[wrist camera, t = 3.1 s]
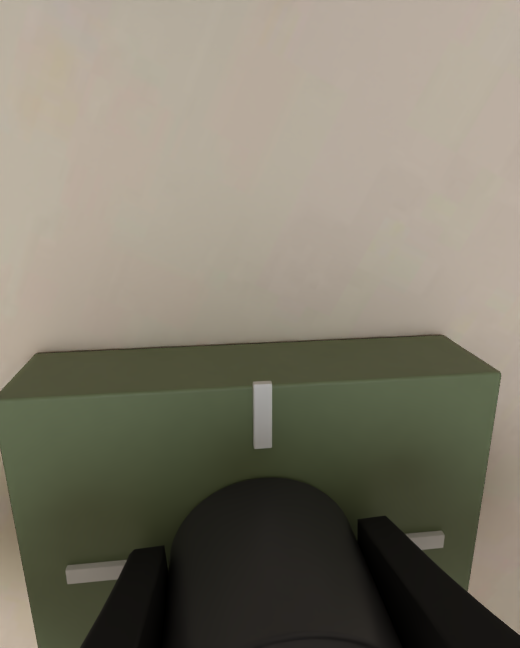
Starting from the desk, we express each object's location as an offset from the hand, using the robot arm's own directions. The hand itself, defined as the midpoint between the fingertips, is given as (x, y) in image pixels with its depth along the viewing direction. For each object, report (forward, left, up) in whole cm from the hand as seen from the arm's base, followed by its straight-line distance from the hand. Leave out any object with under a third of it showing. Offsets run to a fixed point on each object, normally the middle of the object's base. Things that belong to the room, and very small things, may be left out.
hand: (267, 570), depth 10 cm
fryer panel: (0, 0, -3) cm, 3 cm away
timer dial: (0, 0, 0) cm, 0 cm away
